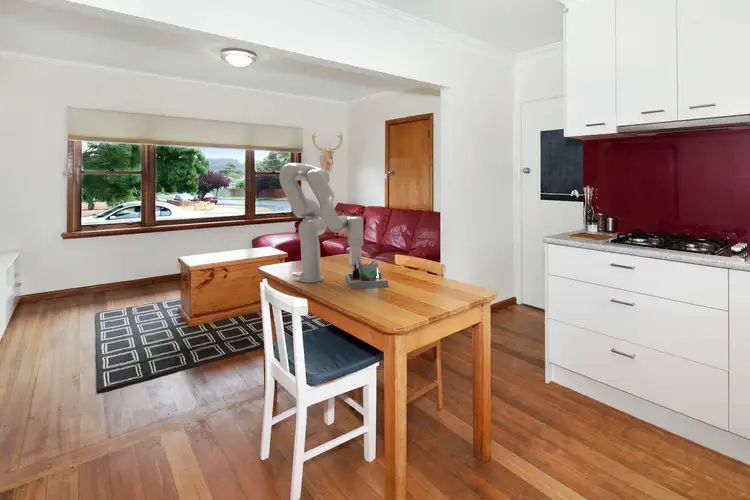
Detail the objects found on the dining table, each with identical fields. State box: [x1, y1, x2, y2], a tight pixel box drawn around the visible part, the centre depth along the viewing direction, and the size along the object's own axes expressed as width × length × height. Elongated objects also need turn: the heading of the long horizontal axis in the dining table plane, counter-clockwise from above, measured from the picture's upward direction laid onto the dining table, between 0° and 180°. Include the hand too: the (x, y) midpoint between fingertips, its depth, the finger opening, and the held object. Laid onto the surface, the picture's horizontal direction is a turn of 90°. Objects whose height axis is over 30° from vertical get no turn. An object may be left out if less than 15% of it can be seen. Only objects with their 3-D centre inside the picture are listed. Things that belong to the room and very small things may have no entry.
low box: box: [344, 271, 389, 290], centre depth 209 cm, size 19×18×3 cm
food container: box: [359, 260, 379, 281], centre depth 209 cm, size 12×6×10 cm, turn 146°
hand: (356, 278), depth 208 cm, fingers closed
